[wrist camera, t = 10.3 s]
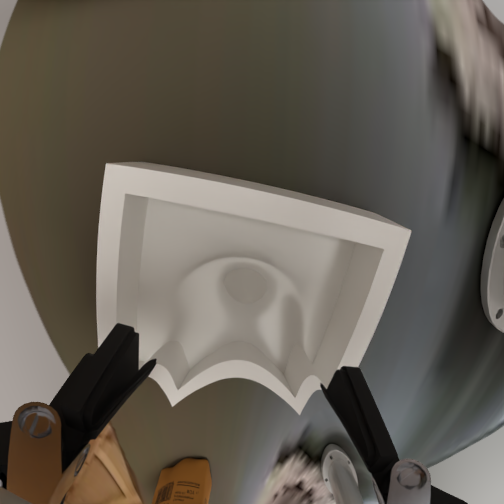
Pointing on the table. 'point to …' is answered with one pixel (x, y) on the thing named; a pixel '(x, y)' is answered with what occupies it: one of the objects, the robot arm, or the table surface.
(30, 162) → the table surface
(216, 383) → the beer glass
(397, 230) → the tray
